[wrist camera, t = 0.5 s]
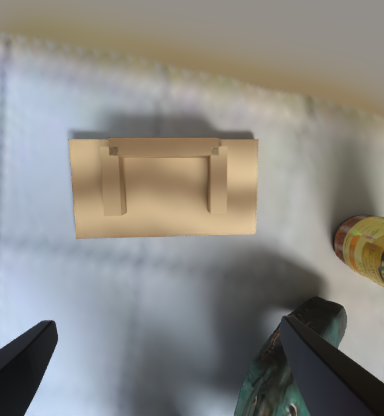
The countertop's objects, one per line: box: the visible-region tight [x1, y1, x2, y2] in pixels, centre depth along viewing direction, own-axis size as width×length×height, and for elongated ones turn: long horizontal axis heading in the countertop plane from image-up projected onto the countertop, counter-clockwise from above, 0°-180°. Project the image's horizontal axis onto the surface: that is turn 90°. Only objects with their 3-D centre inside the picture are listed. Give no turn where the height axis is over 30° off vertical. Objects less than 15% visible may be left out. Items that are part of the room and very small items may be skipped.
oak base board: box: [69, 138, 258, 239], centre depth 20 cm, size 10×18×3 cm, turn 91°
